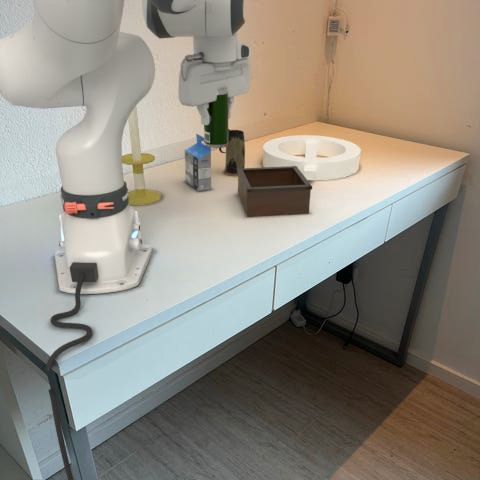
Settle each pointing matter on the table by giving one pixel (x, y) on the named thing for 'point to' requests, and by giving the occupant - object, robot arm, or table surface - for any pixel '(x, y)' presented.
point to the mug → (234, 152)
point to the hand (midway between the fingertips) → (216, 121)
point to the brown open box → (273, 191)
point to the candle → (138, 166)
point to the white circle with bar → (313, 156)
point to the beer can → (217, 121)
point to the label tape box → (198, 165)
